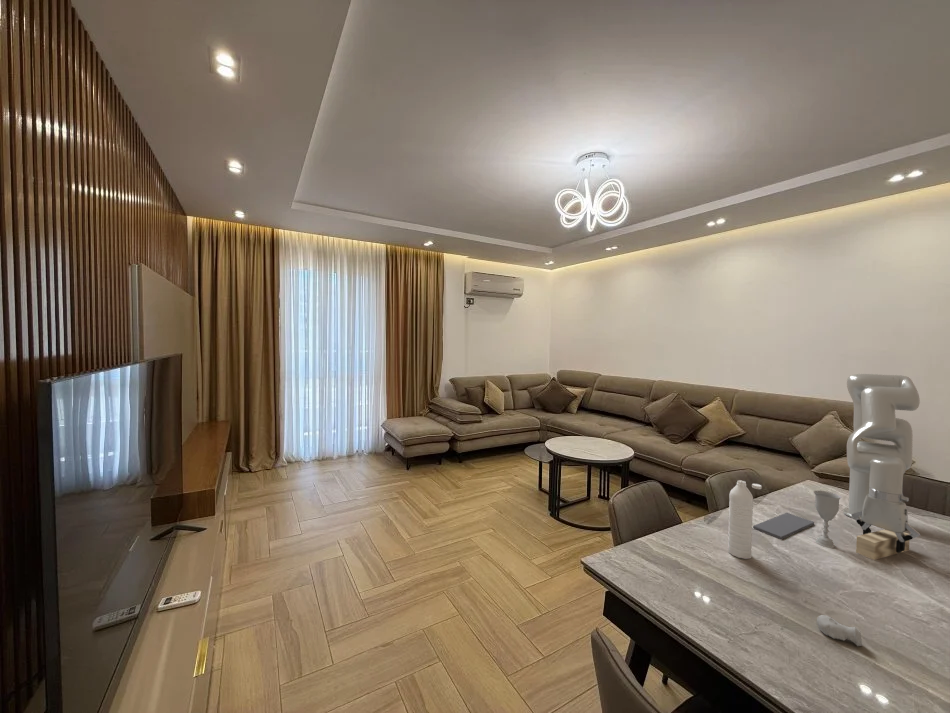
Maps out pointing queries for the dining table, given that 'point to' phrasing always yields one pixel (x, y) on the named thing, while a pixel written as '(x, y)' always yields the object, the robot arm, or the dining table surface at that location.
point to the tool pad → (783, 525)
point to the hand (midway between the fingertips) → (882, 545)
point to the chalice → (826, 513)
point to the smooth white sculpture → (838, 630)
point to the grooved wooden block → (878, 544)
